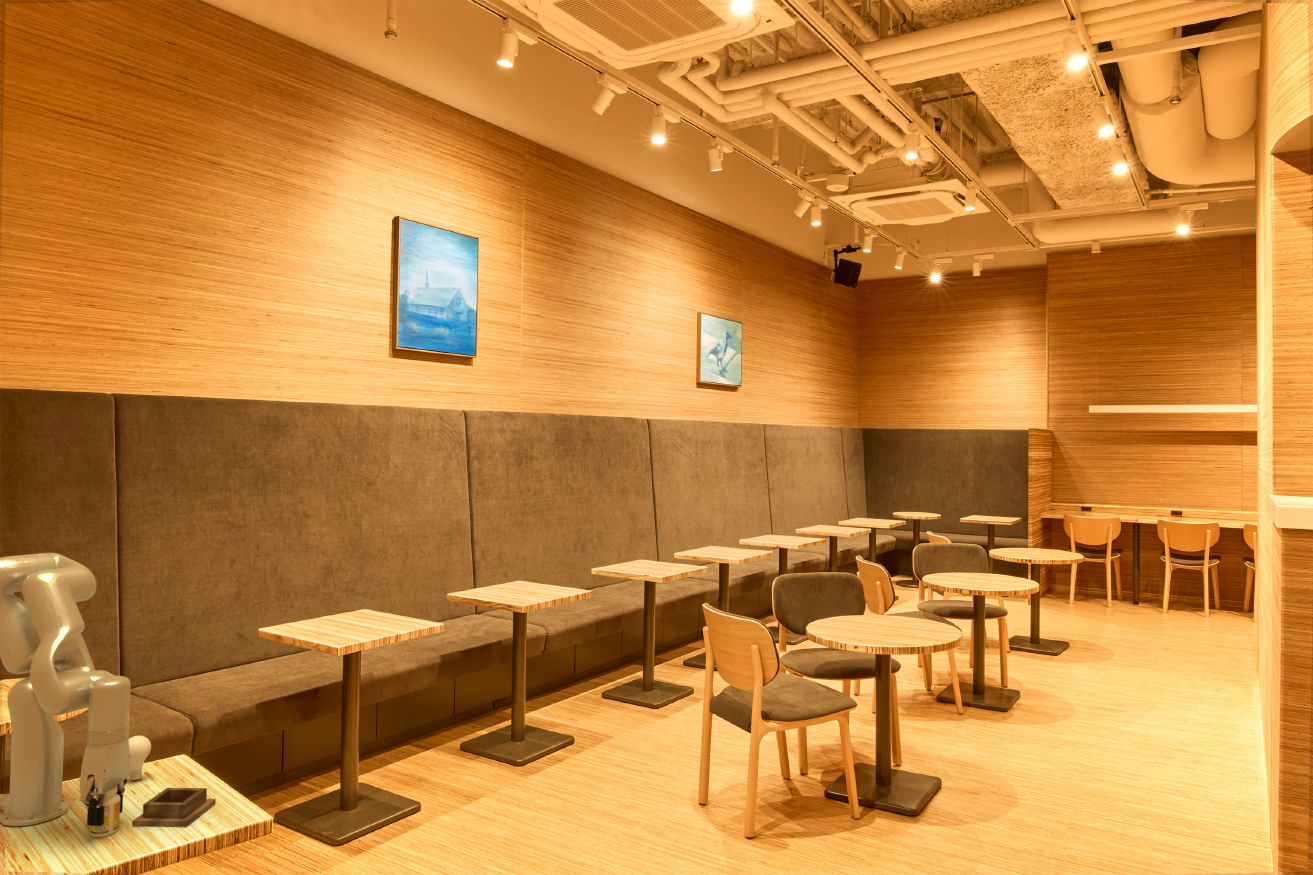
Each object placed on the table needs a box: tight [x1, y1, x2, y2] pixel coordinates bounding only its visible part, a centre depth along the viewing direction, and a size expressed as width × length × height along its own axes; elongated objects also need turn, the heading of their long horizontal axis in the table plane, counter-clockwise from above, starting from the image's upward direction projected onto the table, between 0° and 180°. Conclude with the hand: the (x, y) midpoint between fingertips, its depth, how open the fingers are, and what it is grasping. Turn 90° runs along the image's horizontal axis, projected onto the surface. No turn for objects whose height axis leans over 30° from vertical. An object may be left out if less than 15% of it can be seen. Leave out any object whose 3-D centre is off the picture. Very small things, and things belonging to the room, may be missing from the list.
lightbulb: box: [128, 735, 152, 782], centre depth 204 cm, size 6×6×11 cm
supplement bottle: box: [89, 785, 121, 838], centre depth 176 cm, size 5×5×10 cm
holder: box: [131, 787, 217, 828], centre depth 185 cm, size 12×12×4 cm
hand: (105, 817), depth 176 cm, fingers closed on supplement bottle, 5 cm apart
